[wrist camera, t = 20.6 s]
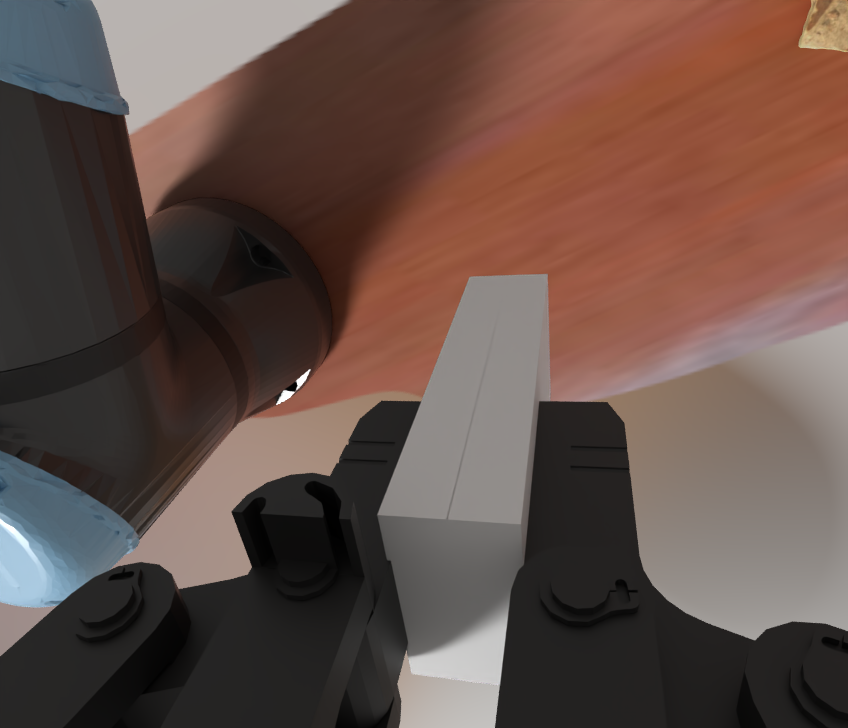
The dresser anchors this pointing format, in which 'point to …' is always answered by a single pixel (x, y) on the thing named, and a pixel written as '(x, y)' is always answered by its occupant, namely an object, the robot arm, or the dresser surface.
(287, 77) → the dresser surface
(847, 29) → the shard
